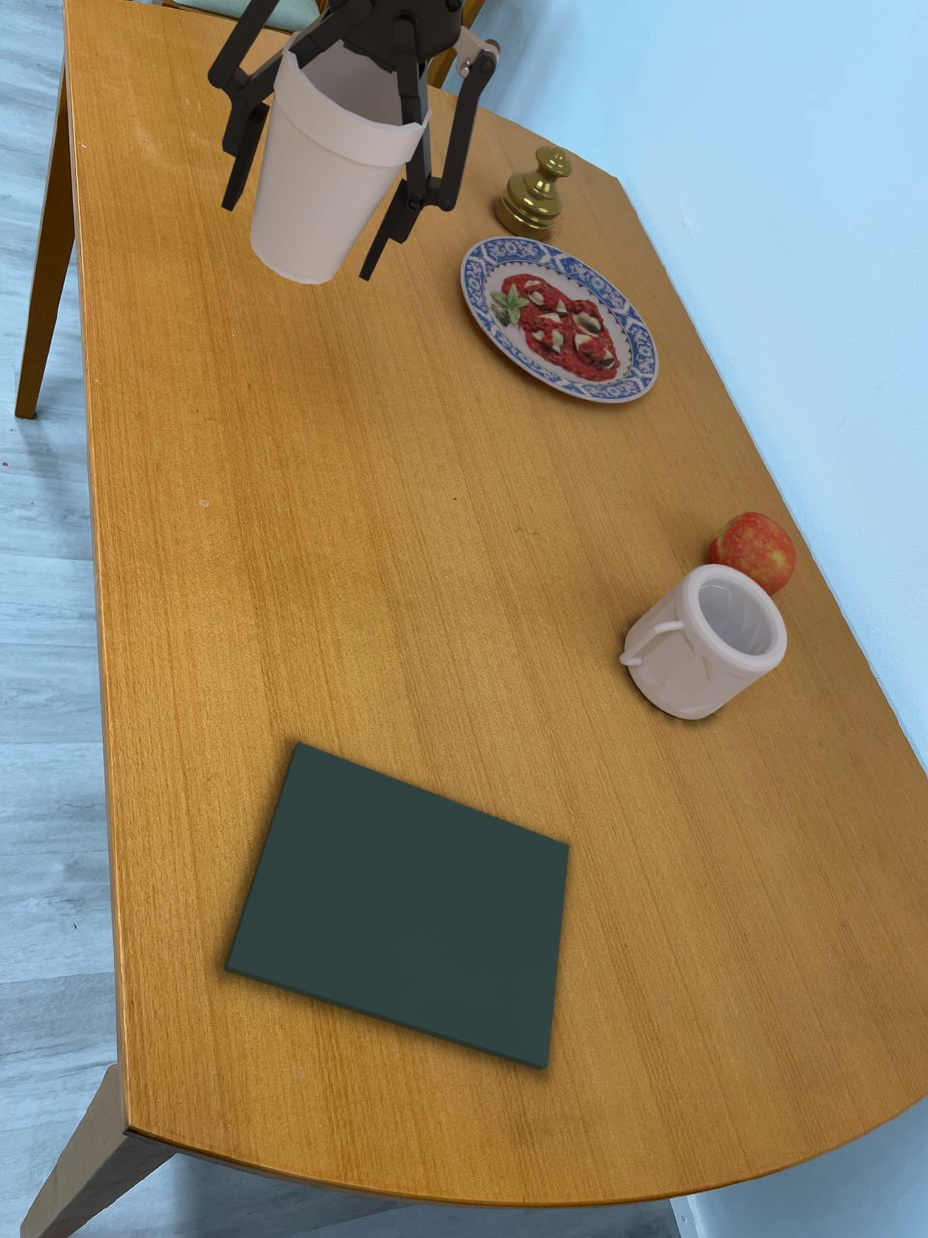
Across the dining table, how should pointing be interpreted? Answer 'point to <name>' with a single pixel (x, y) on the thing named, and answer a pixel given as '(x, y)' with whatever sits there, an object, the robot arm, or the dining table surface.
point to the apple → (756, 550)
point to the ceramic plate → (559, 319)
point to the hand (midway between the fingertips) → (301, 234)
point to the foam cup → (327, 160)
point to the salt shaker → (534, 195)
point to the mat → (406, 909)
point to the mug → (704, 642)
